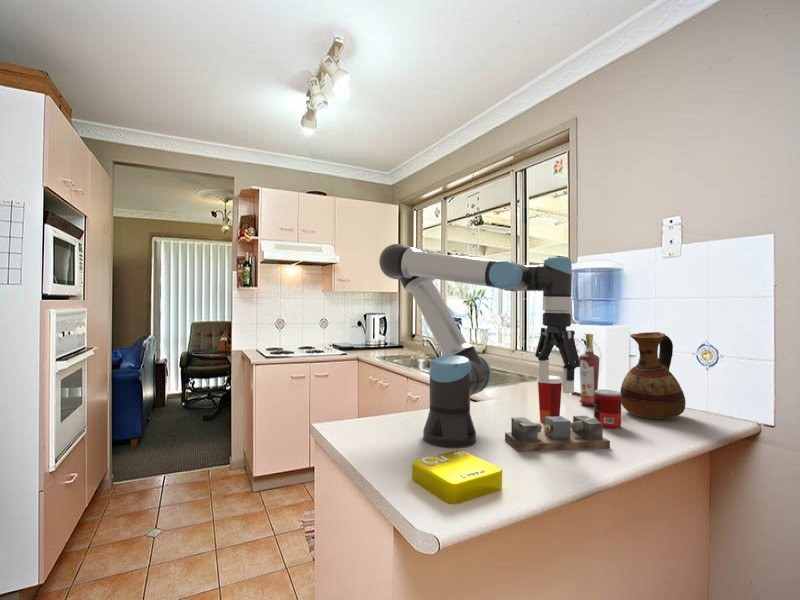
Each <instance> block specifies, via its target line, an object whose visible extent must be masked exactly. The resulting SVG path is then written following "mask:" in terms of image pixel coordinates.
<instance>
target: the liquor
mask: <svg viewBox="0 0 800 600" xmlns="http://www.w3.org/2000/svg"><path fill="white" fill-rule="evenodd" d="M593 340H594V334H593V333H585V341H586V342H585V351H584V353H582V354H581V355H578V358H579V362H580V367H578V368H579V380H580V381H579V382H580V383H579V384H580V389H579V390H580V400H579V403H580V404H581V405H582V406H584V407H588V408H590V407H591V408H592V407H593V408H594V391H595V390H599V376H600V374H599V373H600V359H601V358H600V357H599V356H598V355H596V354H594V345H593Z"/></svg>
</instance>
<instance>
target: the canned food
mask: <svg viewBox="0 0 800 600" xmlns="http://www.w3.org/2000/svg"><path fill="white" fill-rule="evenodd" d="M593 410H594V411H593V417H596V418H597V420H598V422H601V423H603V429H608V428H610V429H611V430H613V429H614V430H615V429H616V428H617V429H620V428H621V426H622V404H621V393H620V391H618V390H613V389H612V390H610V389H598V390H595V391H594V407H593ZM617 429H616V430H617Z"/></svg>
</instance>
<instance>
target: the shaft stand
mask: <svg viewBox="0 0 800 600" xmlns="http://www.w3.org/2000/svg"><path fill="white" fill-rule="evenodd" d="M572 417H573V418H572V421H571V439H565V440H553V439H551V438H550V437H548V436H547V435H545V430H543V429H542V425H541V424H542V423H539V422H538V423H537V422H533V421H531V420H529V419H528V418H527V417H525V416H524V417H511V421H510V422H511V424H510V425H511V429H510V431H511V432H509V431H508V432H504V440H505V441H506V442H507V443H509V444H510V445H511V446H512V447H513V448H515V449H516V450H517V451H518V452H522V453H523V452H541V451H542V452H543V451H546V452H547V451H548V452H550V451H568V450H569V451H571V450H572V451H573V450H593V449H594V450H596V449H611V440H609V439H607V438H605V437H604V436H603V432H604V431H603V429H604V428H603V423H601V422H598V420H597V418H596V417H594V416H592V417H589V416H587V415H573V416H572ZM542 430H543V431H542Z"/></svg>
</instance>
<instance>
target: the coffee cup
mask: <svg viewBox="0 0 800 600" xmlns="http://www.w3.org/2000/svg"><path fill="white" fill-rule="evenodd" d="M535 381H536V382H537V388H538V389H537V391H538V407H539V408H538V409H539V421H540V423H541V424H542V423H543V424H545V417H553V416H561V415H560V414H561V405H562V404H561V402H562V401H561V400H562V389H563V378H561V376H558V375H557V376H556V375H550V374H549V383H539V376H538V377H537V379H536V380H535Z"/></svg>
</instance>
